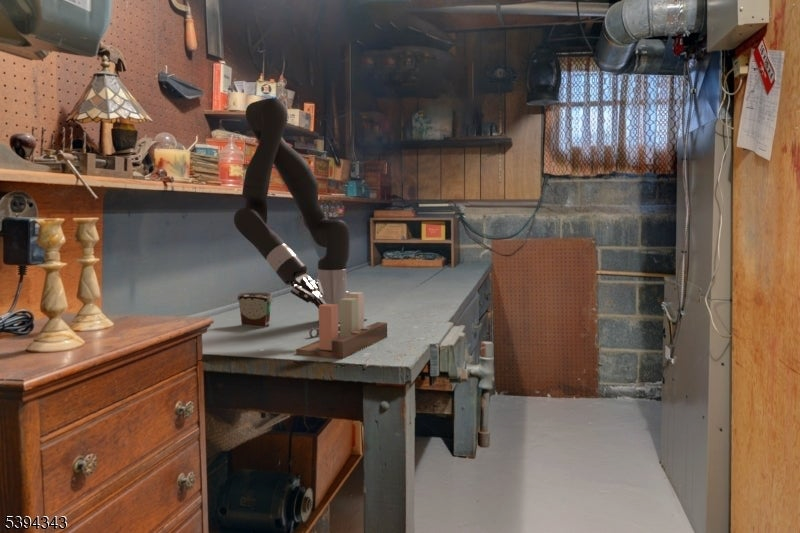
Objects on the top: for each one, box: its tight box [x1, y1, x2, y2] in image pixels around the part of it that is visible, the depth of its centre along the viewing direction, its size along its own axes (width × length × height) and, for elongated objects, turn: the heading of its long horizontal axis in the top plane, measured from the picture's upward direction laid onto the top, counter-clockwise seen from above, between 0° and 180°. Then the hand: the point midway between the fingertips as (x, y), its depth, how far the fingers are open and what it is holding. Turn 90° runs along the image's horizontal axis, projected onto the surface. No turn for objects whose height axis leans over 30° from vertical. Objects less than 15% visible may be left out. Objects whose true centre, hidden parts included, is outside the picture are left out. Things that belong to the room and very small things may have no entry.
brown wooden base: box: [295, 321, 388, 359], centre depth 161 cm, size 13×27×4 cm, turn 158°
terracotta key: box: [318, 304, 339, 350], centre depth 150 cm, size 4×4×11 cm
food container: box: [236, 291, 274, 328], centre depth 190 cm, size 12×6×10 cm, turn 65°
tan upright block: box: [347, 291, 365, 330], centre depth 171 cm, size 4×4×11 cm
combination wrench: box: [308, 318, 368, 339], centre depth 176 cm, size 4×1×20 cm
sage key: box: [339, 298, 358, 337], centre depth 160 cm, size 4×4×11 cm
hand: (326, 310), depth 162 cm, fingers closed
